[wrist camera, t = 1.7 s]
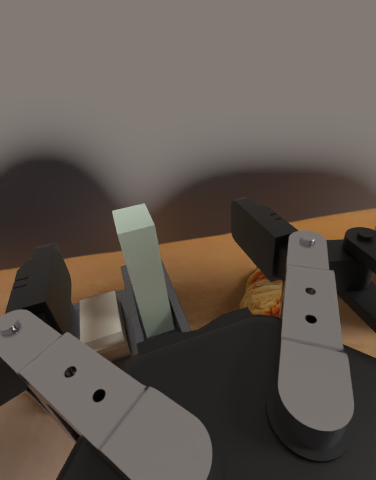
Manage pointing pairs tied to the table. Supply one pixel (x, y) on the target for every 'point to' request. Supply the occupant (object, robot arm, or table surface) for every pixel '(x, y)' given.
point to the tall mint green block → (144, 267)
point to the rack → (136, 315)
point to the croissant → (262, 295)
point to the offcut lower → (119, 349)
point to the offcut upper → (101, 321)
